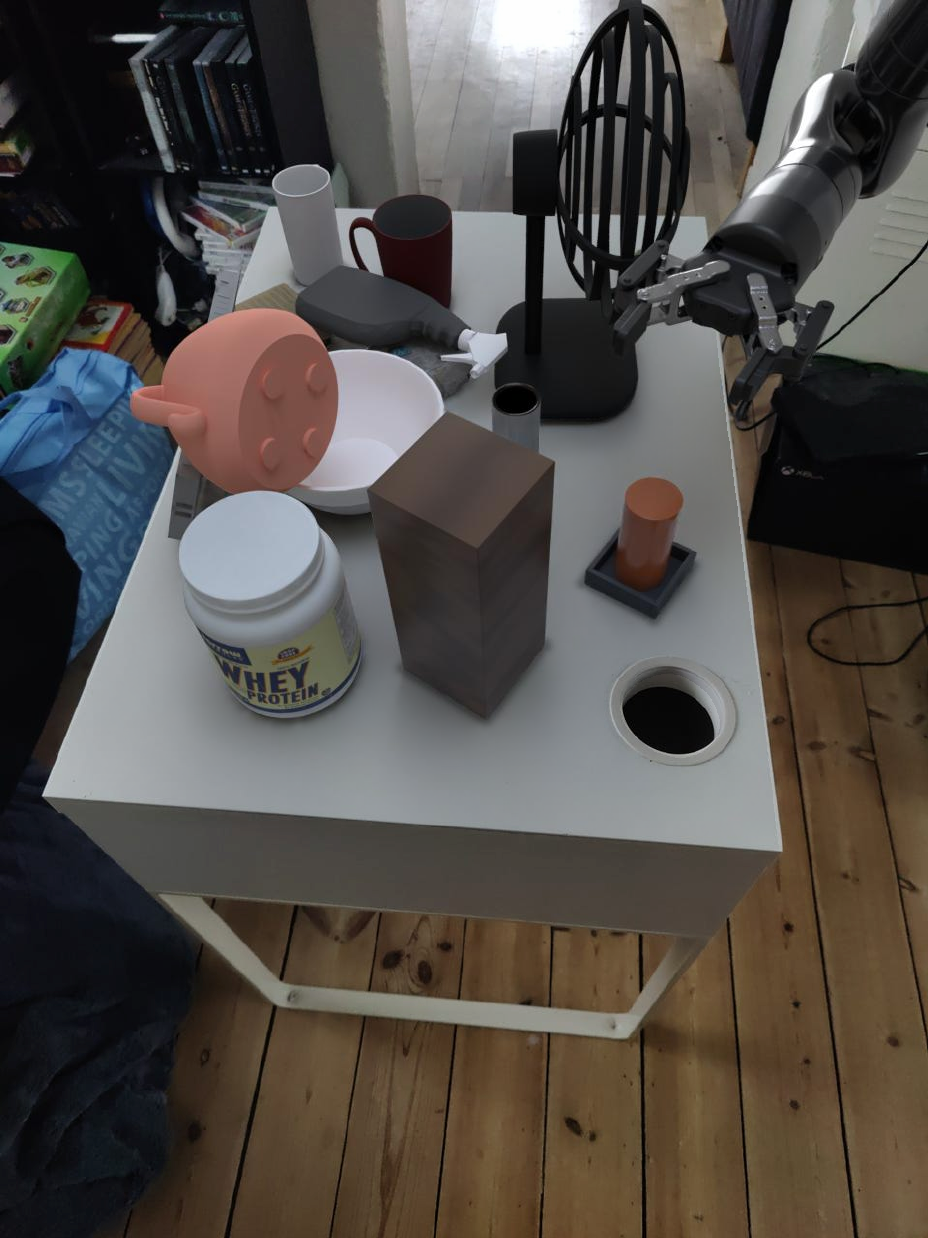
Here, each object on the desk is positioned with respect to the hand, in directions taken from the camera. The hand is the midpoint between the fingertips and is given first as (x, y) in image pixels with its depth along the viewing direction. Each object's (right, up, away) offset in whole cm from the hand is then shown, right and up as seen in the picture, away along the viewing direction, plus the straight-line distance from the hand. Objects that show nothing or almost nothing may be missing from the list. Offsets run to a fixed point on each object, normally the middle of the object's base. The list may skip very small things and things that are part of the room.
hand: (675, 370), depth 57 cm
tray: (+2, -12, +23) cm, 26 cm away
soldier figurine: (+6, +26, +45) cm, 53 cm away
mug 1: (-32, +29, +53) cm, 68 cm away
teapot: (-27, 0, +14) cm, 31 cm away
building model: (-38, +4, +27) cm, 47 cm away
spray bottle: (-31, +21, +41) cm, 56 cm away
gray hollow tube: (-9, -2, +31) cm, 32 cm away
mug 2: (-21, +22, +47) cm, 56 cm away
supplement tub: (-29, -21, +19) cm, 40 cm away
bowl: (-25, -2, +31) cm, 40 cm away
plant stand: (-13, -20, +19) cm, 30 cm away
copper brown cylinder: (+2, -12, +22) cm, 26 cm away
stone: (-23, +14, +40) cm, 48 cm away
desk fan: (-2, +12, +39) cm, 41 cm away
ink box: (-32, +20, +44) cm, 58 cm away
